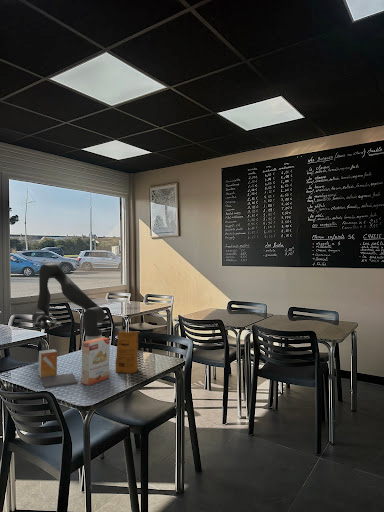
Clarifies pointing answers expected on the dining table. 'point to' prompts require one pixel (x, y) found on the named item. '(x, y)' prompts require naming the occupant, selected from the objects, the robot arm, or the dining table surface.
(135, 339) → the coffee package
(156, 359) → the dining table surface
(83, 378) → the cracker box
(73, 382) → the mat
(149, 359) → the dining table surface
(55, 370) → the small box
